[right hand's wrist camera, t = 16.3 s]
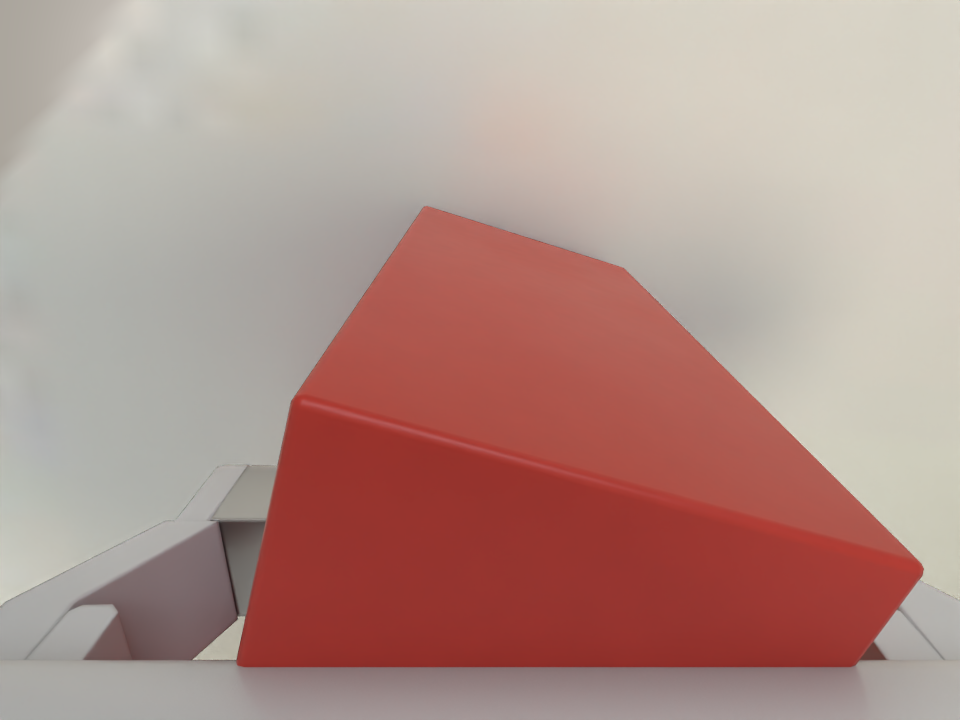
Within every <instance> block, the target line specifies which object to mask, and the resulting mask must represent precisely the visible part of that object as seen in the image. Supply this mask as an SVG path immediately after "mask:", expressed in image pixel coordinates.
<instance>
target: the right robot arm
mask: <svg viewBox="0 0 960 720" xmlns="http://www.w3.org/2000/svg"><path fill="white" fill-rule="evenodd" d="M276 470H277V466H268V465H251V466H250V465H222V466H218V467H217V468H216V469H215V470H214V471H213V472H212V474H211V475H210V476H209V478H208V479H207V480H206V481H205V483H204V484H203V485H202V487H201V488H200V489H199V490H198V492H197V493H196V494H195V496H194V497H193V498H192V499H191V501H190V502H189V503H188V505H187V506H186V507H185V508H184V510H183V511H182V512H181V513H180V515H179V516H178V517H177V519H176V520H175V521H164V522H162V523H160V524H158V525H156V526H154V527H152V528H150V529H148V530H146V531H144V532H142V533H140V534H139V535H137V536H135V537H133V538H131V539H129V540H127V541H125V542H123V543H121V544H119V545H117V546H115V547H113V548H111V549H109V550H107V551H105V552H103V553H101V554H99V555H97V556H95V557H93V558H91V559H89V560H87V561H85V562H83V563H81V564H79V565H77V566H75V567H73V568H71V569H69V570H67V571H65V572H64V573H62V574H60V575H58V576H56V577H54V578H52V579H50V580H48V581H46V582H44V583H42V584H40V585H38V586H36V587H34V588H32V589H30V590H28V591H26V592H24V593H22V594H20V595H18V596H16V597H14V598H12V599H10V600H8V601H6V602H5V603H4V604H3V605H2V606H1V607H0V720H960V600H958V599H956V598H954V597H952V596H950V595H948V594H946V593H944V592H942V591H940V590H938V589H936V588H934V587H932V586H930V585H928V584H926V583H924V582H922V581H920V580H919V581H918V582H917V584H916V585H915V586H914V588H913V589H912V590H911V592H910V593H909V594H908V596H907V597H906V598H905V600H904V601H903V602H902V604H901V605H900V606H899V608H898V609H897V610H896V612H895V613H894V614H893V616H892V617H891V618H890V620H889V621H888V622H887V624H886V625H885V626H884V628H883V629H882V631H881V632H880V633H879V635H878V636H877V637H876V639H875V640H874V641H873V643H872V644H871V645H870V647H869V648H868V649H867V651H866V652H865V653H864V655H863V656H862V657H861V659H860V660H859V661H858V663H857V664H856V665H855V666H852V667H242V666H238V665H237V663H236V660H192V659H193V658H195V657H196V656H197V655H198V654H199V653H200V652H201V651H202V650H204V649H205V648H206V647H207V646H208V645H209V644H210V643H211V642H213V641H214V640H215V639H216V638H217V637H218V636H219V635H220V634H222V633H223V632H224V631H225V630H226V629H227V628H228V627H230V626H231V625H232V624H233V623H234V622H235V621H236V620H237V619H238V617H237V616H246V613H247V608H248V603H249V599H250V594H251V589H252V584H253V580H254V575H255V570H256V565H257V561H258V556H259V551H260V546H261V542H262V537H263V532H264V527H265V523H266V518H267V513H268V508H269V504H270V499H271V494H272V489H273V485H274V480H275V475H276Z"/></svg>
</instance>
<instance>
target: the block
mask: <svg viewBox="0 0 960 720" xmlns="http://www.w3.org/2000/svg"><path fill="white" fill-rule="evenodd" d="M923 570H924V568H923V566H922V564H921V563H920V562H919V561H918V560H917V559H916V558H915V557H914V556H913V555H912V554H911V553H910V552H909V551H908V550H907V549H906V548H905V547H904V546H903V545H902V544H901V543H900V542H899V541H898V540H897V539H896V538H895V537H894V536H893V535H892V534H891V533H890V532H889V531H888V530H887V529H886V528H885V527H884V526H883V525H882V524H881V523H880V522H879V521H878V520H877V519H876V518H875V517H874V516H873V515H872V514H871V513H870V512H869V511H868V510H867V509H866V508H865V507H864V506H863V505H862V504H861V503H860V502H859V501H858V500H857V499H856V498H855V497H854V496H853V495H852V494H851V493H850V492H849V491H848V490H847V489H846V488H845V487H844V486H843V485H842V484H841V483H840V482H839V481H838V480H837V479H836V478H835V477H834V476H833V475H832V474H831V473H830V472H829V471H828V470H827V469H826V468H825V467H824V466H823V465H822V464H821V463H820V462H819V461H818V460H817V459H816V458H815V457H814V456H813V455H812V454H811V453H810V452H809V451H808V450H807V449H806V448H805V447H804V446H803V445H801V444H800V443H799V442H798V441H797V440H796V439H795V438H794V437H793V436H792V435H791V434H790V433H789V432H788V431H787V430H786V429H785V428H784V427H783V426H782V425H781V424H780V423H779V422H778V421H777V420H776V419H775V418H774V417H773V416H772V415H771V414H770V413H769V412H768V411H767V410H766V409H765V408H764V407H763V406H762V405H761V404H760V403H759V402H758V401H757V400H756V399H755V398H754V397H753V396H752V395H751V394H750V393H749V392H748V391H747V390H746V389H745V388H744V387H743V386H742V385H741V384H740V383H739V382H738V381H737V380H736V379H735V378H734V377H733V376H732V375H731V374H730V373H729V372H728V371H727V370H726V369H725V368H724V367H723V366H722V365H721V364H720V363H719V362H718V361H717V360H716V359H715V358H714V357H713V356H712V355H711V354H710V353H709V352H708V351H707V350H706V349H705V348H704V347H703V346H702V345H701V344H700V343H699V342H698V341H697V340H696V339H695V338H694V337H693V336H692V335H691V334H690V333H689V332H688V331H687V330H686V329H685V328H684V327H683V326H682V325H681V324H680V323H679V322H678V321H677V320H676V319H675V318H674V317H673V316H672V315H671V314H670V313H669V312H668V311H667V310H666V309H665V308H664V307H663V306H662V305H661V304H659V303H658V302H657V301H656V300H655V299H654V298H653V297H652V296H651V295H650V294H649V293H648V292H647V291H646V290H645V289H644V288H643V287H642V286H641V285H640V284H639V283H638V282H637V281H636V280H635V279H634V278H633V277H632V276H631V275H630V274H629V273H628V272H627V271H626V270H625V269H624V268H622V267H619V266H616V265H613V264H610V263H606V262H603V261H600V260H597V259H594V258H590V257H587V256H584V255H581V254H578V253H575V252H571V251H568V250H565V249H562V248H559V247H555V246H552V245H549V244H546V243H543V242H540V241H536V240H533V239H530V238H527V237H524V236H520V235H517V234H514V233H511V232H508V231H505V230H501V229H498V228H495V227H492V226H489V225H485V224H482V223H479V222H476V221H473V220H470V219H466V218H463V217H460V216H457V215H454V214H450V213H447V212H444V211H441V210H438V209H435V208H431V207H428V206H424V207H423V209H422V210H421V212H420V213H419V215H418V216H417V217H416V219H415V220H414V222H413V223H412V225H411V226H410V228H409V229H408V231H407V232H406V234H405V235H404V237H403V238H402V239H401V241H400V242H399V244H398V245H397V247H396V248H395V250H394V251H393V253H392V254H391V256H390V257H389V259H388V260H387V261H386V263H385V264H384V266H383V267H382V269H381V270H380V272H379V273H378V275H377V276H376V278H375V279H374V281H373V282H372V283H371V285H370V286H369V288H368V289H367V291H366V292H365V294H364V295H363V297H362V298H361V300H360V301H359V303H358V304H357V305H356V307H355V308H354V310H353V311H352V313H351V314H350V316H349V317H348V319H347V320H346V322H345V323H344V325H343V326H342V327H341V329H340V330H339V332H338V333H337V335H336V336H335V338H334V339H333V341H332V342H331V344H330V345H329V347H328V348H327V349H326V351H325V352H324V354H323V355H322V357H321V358H320V360H319V361H318V363H317V364H316V366H315V367H314V369H313V370H312V371H311V373H310V374H309V376H308V377H307V379H306V380H305V382H304V383H303V385H302V386H301V388H300V389H299V391H298V392H297V393H296V395H295V396H294V398H293V399H292V401H291V404H290V409H289V413H288V418H287V423H286V428H285V432H284V437H283V442H282V447H281V451H280V456H279V461H278V466H277V470H276V475H275V480H274V485H273V489H272V494H271V499H270V504H269V508H268V513H267V518H266V523H265V527H264V532H263V537H262V542H261V546H260V551H259V556H258V561H257V565H256V570H255V575H254V580H253V584H252V589H251V594H250V599H249V603H248V608H247V613H246V618H245V622H244V627H243V632H242V637H241V641H240V646H239V651H238V656H237V660H236V663H237V665H238V666H242V667H852V666H855V665H856V664H857V663H858V661H859V660H860V659H861V657H862V656H863V655H864V653H865V652H866V651H867V649H868V648H869V647H870V645H871V644H872V643H873V641H874V640H875V639H876V637H877V636H878V635H879V633H880V632H881V631H882V629H883V628H884V626H885V625H886V624H887V622H888V621H889V620H890V618H891V617H892V616H893V614H894V613H895V612H896V610H897V609H898V608H899V606H900V605H901V604H902V602H903V601H904V600H905V598H906V597H907V596H908V594H909V593H910V592H911V590H912V589H913V588H914V586H915V585H916V584H917V582H918V581H919V580H920V578H921V577H922V575H923Z"/></svg>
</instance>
